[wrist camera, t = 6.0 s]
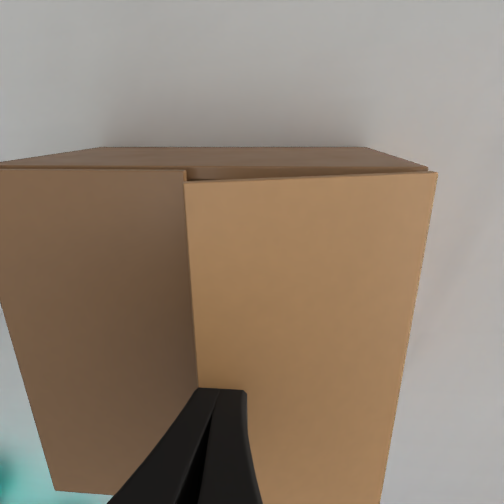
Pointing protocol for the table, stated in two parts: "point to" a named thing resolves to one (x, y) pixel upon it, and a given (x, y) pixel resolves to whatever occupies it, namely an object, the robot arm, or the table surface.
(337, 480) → the flap
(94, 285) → the carton
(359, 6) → the table surface
